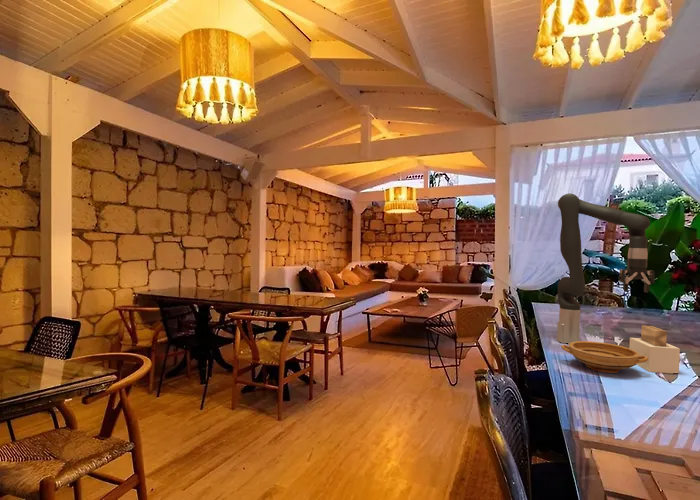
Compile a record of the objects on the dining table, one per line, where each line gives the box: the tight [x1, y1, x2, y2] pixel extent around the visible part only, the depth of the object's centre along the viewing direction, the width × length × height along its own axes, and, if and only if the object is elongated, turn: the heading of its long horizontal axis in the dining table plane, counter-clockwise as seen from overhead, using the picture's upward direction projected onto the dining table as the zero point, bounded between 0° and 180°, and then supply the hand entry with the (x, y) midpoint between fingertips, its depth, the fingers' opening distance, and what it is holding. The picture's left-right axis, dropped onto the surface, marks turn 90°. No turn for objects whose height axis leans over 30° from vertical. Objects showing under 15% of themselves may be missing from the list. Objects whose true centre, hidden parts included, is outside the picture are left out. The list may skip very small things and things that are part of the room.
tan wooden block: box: [640, 325, 668, 347], centre depth 163 cm, size 4×10×9 cm, turn 170°
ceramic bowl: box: [560, 340, 648, 374], centre depth 159 cm, size 30×24×8 cm
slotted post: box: [628, 337, 681, 374], centre depth 163 cm, size 10×15×10 cm
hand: (636, 291), depth 188 cm, fingers open, 8 cm apart
